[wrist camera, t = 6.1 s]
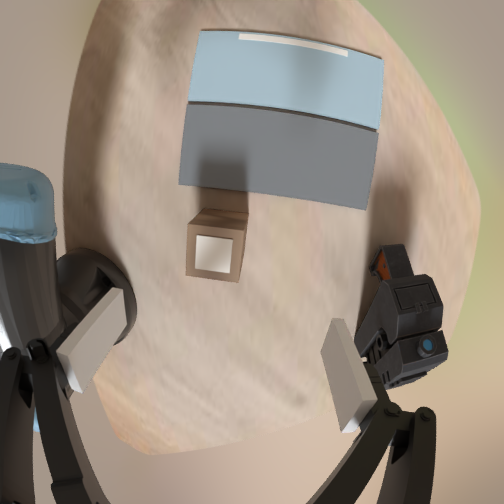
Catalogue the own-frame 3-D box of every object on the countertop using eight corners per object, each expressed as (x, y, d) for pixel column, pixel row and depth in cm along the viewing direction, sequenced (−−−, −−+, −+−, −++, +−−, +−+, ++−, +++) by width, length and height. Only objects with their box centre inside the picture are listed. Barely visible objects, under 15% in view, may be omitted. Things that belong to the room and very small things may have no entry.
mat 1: (189, 101, 26) (187, 100, 25) (201, 33, 22) (199, 30, 22) (377, 129, 26) (379, 129, 25) (381, 61, 22) (384, 60, 22)
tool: (414, 230, 27) (462, 354, 17) (375, 310, 41) (393, 396, 32) (367, 234, 27) (408, 371, 17) (341, 315, 42) (355, 404, 32)
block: (201, 250, 32) (185, 275, 25) (204, 208, 30) (187, 224, 23) (243, 255, 32) (238, 283, 25) (248, 213, 30) (244, 231, 23)
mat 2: (180, 184, 29) (178, 184, 28) (188, 105, 26) (186, 104, 25) (364, 209, 29) (366, 210, 28) (376, 133, 26) (378, 133, 25)
